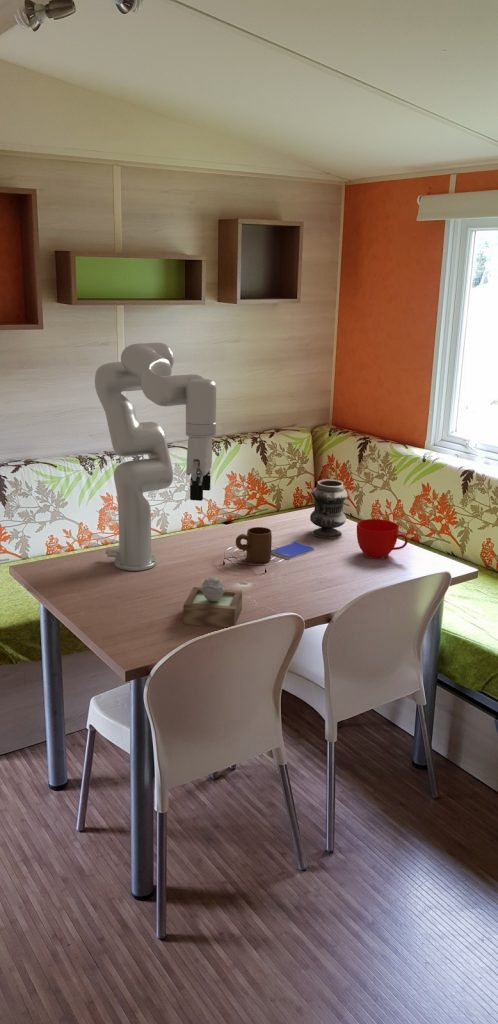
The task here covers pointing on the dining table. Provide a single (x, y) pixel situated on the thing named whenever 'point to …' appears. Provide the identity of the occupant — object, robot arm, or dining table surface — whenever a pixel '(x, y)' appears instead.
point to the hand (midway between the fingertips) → (200, 494)
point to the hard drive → (292, 550)
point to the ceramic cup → (378, 537)
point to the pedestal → (212, 609)
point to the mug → (256, 544)
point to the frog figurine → (213, 589)
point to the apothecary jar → (328, 508)
